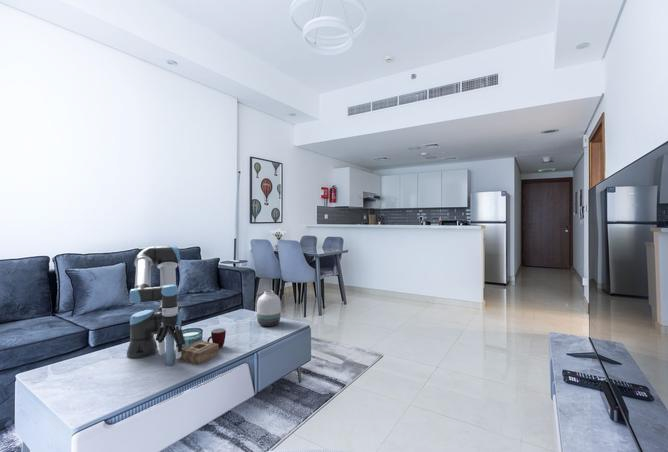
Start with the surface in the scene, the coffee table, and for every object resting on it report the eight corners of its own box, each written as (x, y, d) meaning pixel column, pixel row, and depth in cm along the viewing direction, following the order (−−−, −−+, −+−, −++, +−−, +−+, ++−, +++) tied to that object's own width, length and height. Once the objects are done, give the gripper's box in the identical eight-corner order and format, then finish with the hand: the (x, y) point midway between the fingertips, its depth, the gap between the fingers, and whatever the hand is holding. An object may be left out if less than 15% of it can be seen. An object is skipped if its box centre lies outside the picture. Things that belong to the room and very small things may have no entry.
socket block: (179, 360, 174) (179, 348, 174) (199, 350, 187) (199, 340, 187) (199, 364, 168) (199, 353, 168) (218, 354, 181) (218, 343, 181)
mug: (211, 352, 184) (211, 335, 184) (204, 348, 189) (204, 332, 189) (228, 347, 192) (228, 330, 192) (221, 343, 197) (221, 327, 197)
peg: (164, 364, 169) (164, 334, 168) (170, 361, 172) (170, 331, 172) (169, 366, 167) (169, 335, 167) (176, 362, 171) (176, 332, 171)
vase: (256, 321, 240) (256, 289, 240) (279, 319, 245) (278, 288, 245) (257, 329, 224) (257, 294, 224) (282, 326, 229) (282, 293, 229)
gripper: (147, 314, 171) (148, 354, 171) (180, 319, 161) (180, 362, 162) (160, 310, 177) (160, 349, 178) (192, 315, 168) (192, 356, 168)
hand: (170, 355), depth 170 cm, fingers open, 11 cm apart
